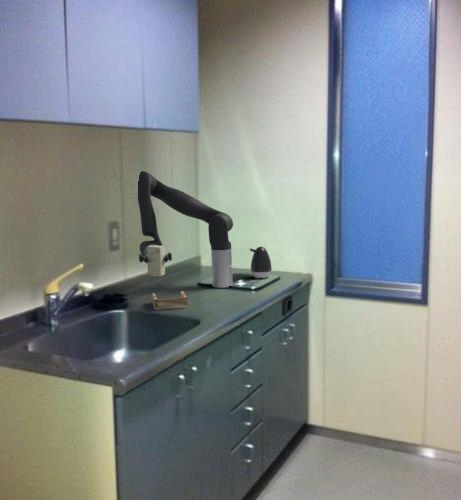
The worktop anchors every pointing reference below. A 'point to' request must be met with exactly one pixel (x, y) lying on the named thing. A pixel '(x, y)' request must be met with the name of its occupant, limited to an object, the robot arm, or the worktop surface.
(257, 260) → the pump dispenser
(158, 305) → the brown wooden tray
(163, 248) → the skincare box
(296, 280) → the worktop surface
